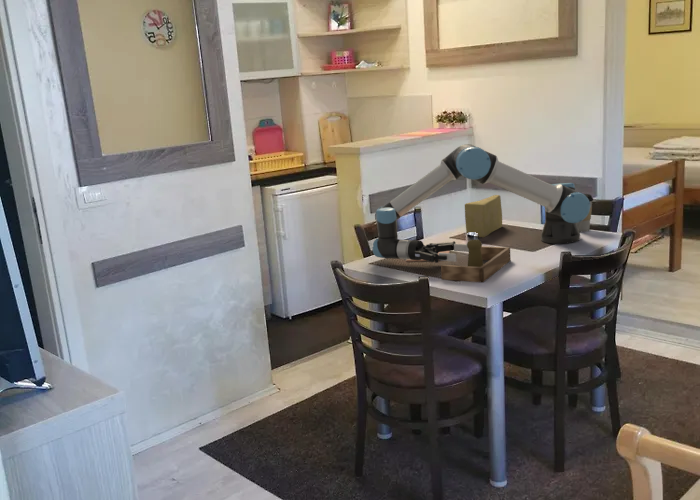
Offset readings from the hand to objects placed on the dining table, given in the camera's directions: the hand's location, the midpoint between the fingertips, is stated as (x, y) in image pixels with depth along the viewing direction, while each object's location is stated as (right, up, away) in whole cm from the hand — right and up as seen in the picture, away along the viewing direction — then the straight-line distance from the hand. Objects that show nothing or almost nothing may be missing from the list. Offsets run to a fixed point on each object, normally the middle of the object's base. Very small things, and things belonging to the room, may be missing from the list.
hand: (463, 252), depth 248 cm
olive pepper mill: (+4, -6, 0) cm, 8 cm away
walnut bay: (+4, -6, 0) cm, 7 cm away
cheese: (+20, +9, +56) cm, 60 cm away
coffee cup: (+57, +9, +43) cm, 72 cm away
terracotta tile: (-10, -1, +25) cm, 27 cm away
